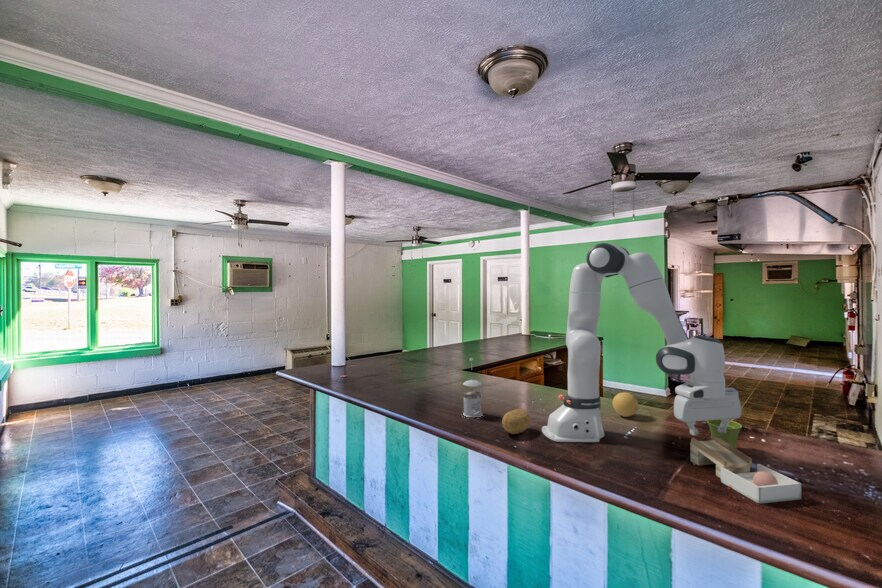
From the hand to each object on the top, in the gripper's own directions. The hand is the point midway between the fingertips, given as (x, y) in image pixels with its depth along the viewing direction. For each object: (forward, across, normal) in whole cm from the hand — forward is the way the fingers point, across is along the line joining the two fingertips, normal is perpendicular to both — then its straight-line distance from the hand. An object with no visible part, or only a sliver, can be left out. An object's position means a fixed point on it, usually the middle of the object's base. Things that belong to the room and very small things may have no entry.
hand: (707, 433), depth 119 cm
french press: (+10, +61, -59) cm, 85 cm away
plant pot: (+9, -13, -8) cm, 18 cm away
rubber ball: (+6, 0, +16) cm, 17 cm away
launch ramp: (+9, 0, +4) cm, 10 cm away
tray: (+9, 0, +16) cm, 19 cm away
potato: (+10, +50, -35) cm, 62 cm away
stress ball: (+9, -1, -44) cm, 45 cm away
